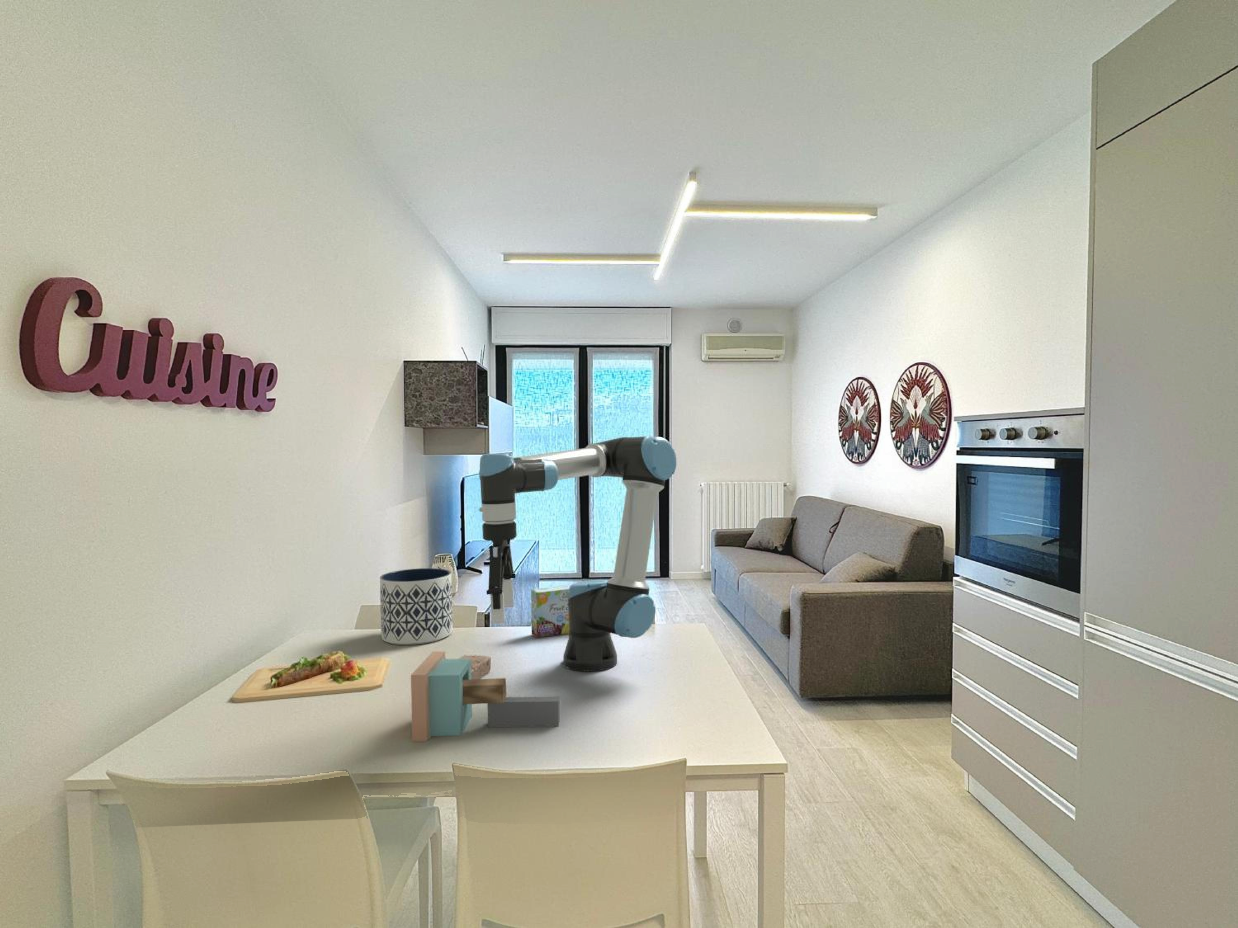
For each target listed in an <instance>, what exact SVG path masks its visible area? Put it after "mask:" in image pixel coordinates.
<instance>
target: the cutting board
mask: <svg viewBox="0 0 1238 928" xmlns="http://www.w3.org/2000/svg"><path fill="white" fill-rule="evenodd" d="M390 665H391V658H387V657H377V658H375V657H374V658H365V659H350V656H349V655H347V654H344V652H343V651H340V650H337V651H336V650H335V651H334V650H333V651H332V652H331V653H322V654H320V655H318V656H317V657H314V658H312V659H308V658H307V656H301V657H300V658H299V661H297V662H293V663H291V664H290V665H277V666H267V667H266V666H265V667H263V668H259V669H257V670H255V672H254V673H253V674H252V675H251V676H250V677H249V678H248V679H247V680H246V681H245V683H244V684H242V686H241V687H240V688H239V689H238V690H237V691H236V692H235V693H234V694H233V695H232V697H231V701H232V702H235V703H236V702H237V703H247V702H258V701H260V702H261V701H268V700H269V701H270V700H280V699H282V700H283V699H290V698H300V697H301V698H302V697H311V696H313V697H314V696H323V695H332V694H333V695H335V694H342V693H343V694H344V693H355V692H356V693H357V692H364V691H374V690H377V689H380V688H383V685H384V684H385V683H384V682H385V680H386V677H387V674H388V671H389V667H390Z"/></svg>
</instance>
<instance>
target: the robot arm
mask: <svg viewBox="0 0 1238 928" xmlns="http://www.w3.org/2000/svg"><path fill="white" fill-rule="evenodd" d="M676 469H677V454H676V452H675V449H674V448H673V445H672V444H671V442H669V440H667V439H666V438H664V437H661V436H651V435H647V436H631V437H630V436H629V437H628V436H623V437H621V436H620V437H616V438H613V439H610V440H604V441H599V442H595V443H589V444H588V445H586V447H584V448H577V449H570V450H563V451H554V452H548V453H547V452H546V453H540V454H538V453H537V454H534V455H532V454H531V455H524V456H517V457H514V455H513V454H512V453H510V452H497V453H483V454H482V455H481V456H480V459H479V472H478V477H479V482H480V500H481V502H480V503H481V506H480V507H479V510H478V511H479V512H481V518H482V519H481V520H482V521H483V522H484V523H482V524H481V525H482V539H483V540H485V541H488V542H489V541H491V542H492V547H489V549H488V551H489V565H488V566H489V568H488V570H489V571H488V589H487V590H486V595H490V612H491V613H490V614H491V615H490V617H491V624H492V625H493V624H505V621H506V619H505V608H513V607H514V589H513V588H514V585H513V584H514V582H513V579H516V576H517V575H516V573H514V567H513V559H512V549H511V540H514V539H515V538H517V535H518V534H517V523H516V522H515V520H516V519H517V511H516V509H517V507H516V494H520V493H523V494H524V493H530V492H531V493H532V492H544V491H549V490H552V489H554V488H555V487H556V485H557V483H558V481H561V480H567V479H573V478H578V477H579V478H580V477H585V476H590V477H592V478H601V477H613V478H621V479H622V480H621V481H622V484H623V485H624V487H625V488H626V491H625V497H624V504H623V505H624V506H623V511H622V519H621V524H620V532H619V537H618V543H617V551H616V557H615V563H614V572H613V575H612V577H611V578H609V579H593V580H592V579H591V580H585V581H579V582H575V583H573V584H570V585H571V586H570V587H569V597H568V608H569V633H568V635H569V636H568V640H567V642H566V647H565V649H564V653H563V659H562V660H563V666H564V667H565V668H568V669H570V670H573V671H579V672H597V671H604V670H608V669H611V668H613V667H614V666H616V665H617V664H618V653H617V651H616V648H615V644H614V641H613V638H612V634H613V635H618V636H619V637H621V638H628V639H630V638H631V639H637V638H640V637H642V636H644V634H646V632H647V631H649V629H650V628H651V627H652V625H653V623H654V620H655V617H656V605H655V602H654V600H653V598H652V597H651V596H650V595H649V594H650V586H649V585H648V584H647V581H646V576H647V569H648V562H649V556H650V548H651V542H652V534H653V527H654V520H655V514H656V507H657V500H658V499H657V498H658V494H659V492H662V490H663V489H665V482H666V480H668V479H670V478H671V477H672V476H673V475H674V474H675V472H676Z"/></svg>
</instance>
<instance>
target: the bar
mask: <svg viewBox="0 0 1238 928" xmlns="http://www.w3.org/2000/svg"><path fill="white" fill-rule="evenodd" d="M506 681H507V679H506V677H500V678H498V677H497V678H481V679H469V680H463V704H472V705H475V704H477V705H479V704H480V705H481V704H483V705H484V704H487V703H503V702H504V700H505V698H506V697H507V682H506Z"/></svg>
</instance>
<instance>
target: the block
mask: <svg viewBox="0 0 1238 928" xmlns="http://www.w3.org/2000/svg"><path fill="white" fill-rule="evenodd" d="M469 679H471V659H459V658H445V659H442V660H441V662H440V663H439V664H438V665H437V666H436V668H435V669H434V670H433V671H432V672H431V674H430V675H429V706H430V737H450V736H452V737H454V736H455V737H456V736H457V737H459V736H461V735H462V734H463V732H464V731H465V729H466V727H467V725H468V723H469V721H470V719H472V718H471V717H472V716H473V704H463V680H469Z"/></svg>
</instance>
